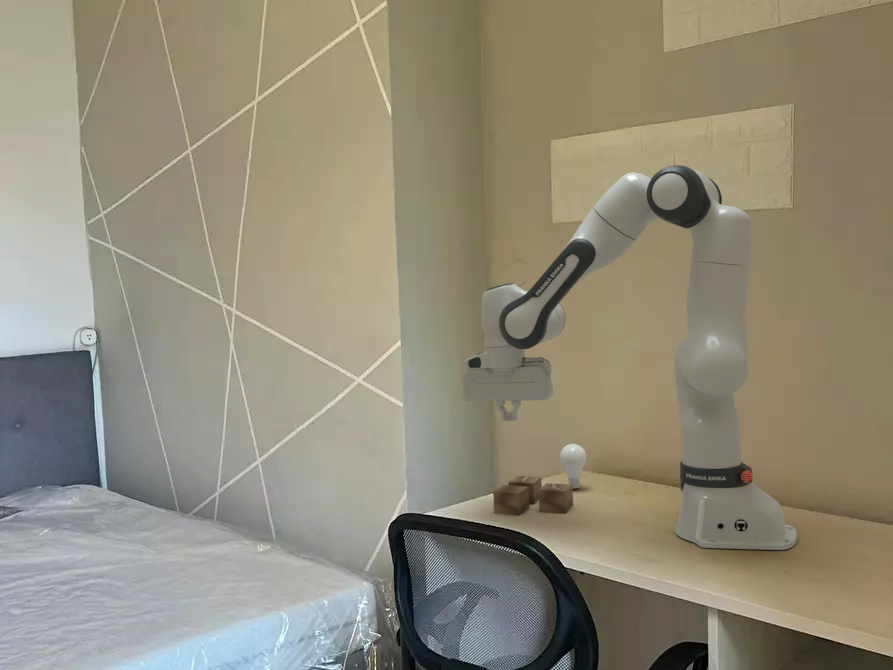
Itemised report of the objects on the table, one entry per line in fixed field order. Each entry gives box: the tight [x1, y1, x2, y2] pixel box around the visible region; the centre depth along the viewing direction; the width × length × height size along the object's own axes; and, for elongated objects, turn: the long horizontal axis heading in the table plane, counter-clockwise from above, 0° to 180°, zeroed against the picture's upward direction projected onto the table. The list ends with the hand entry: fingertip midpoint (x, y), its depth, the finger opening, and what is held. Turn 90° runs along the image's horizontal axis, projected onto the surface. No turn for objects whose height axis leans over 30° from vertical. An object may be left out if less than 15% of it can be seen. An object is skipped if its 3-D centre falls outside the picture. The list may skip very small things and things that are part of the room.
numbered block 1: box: [507, 475, 543, 505], centre depth 205 cm, size 6×6×5 cm
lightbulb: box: [559, 443, 587, 490], centre depth 212 cm, size 6×6×11 cm
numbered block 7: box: [538, 482, 574, 514], centre depth 196 cm, size 6×6×5 cm
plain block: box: [492, 484, 531, 516], centre depth 197 cm, size 6×6×5 cm
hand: (509, 420), depth 195 cm, fingers closed
